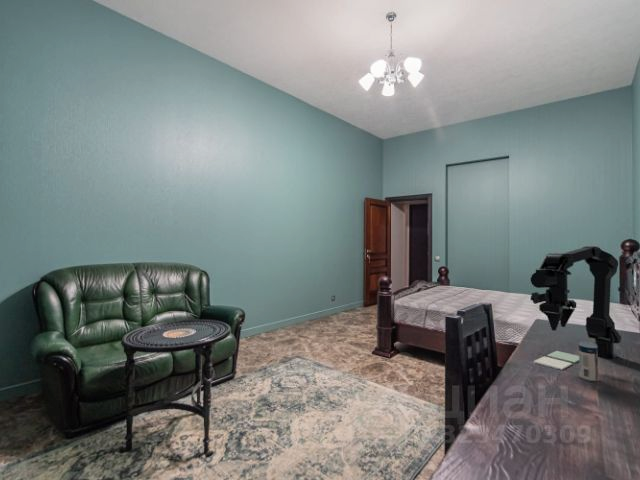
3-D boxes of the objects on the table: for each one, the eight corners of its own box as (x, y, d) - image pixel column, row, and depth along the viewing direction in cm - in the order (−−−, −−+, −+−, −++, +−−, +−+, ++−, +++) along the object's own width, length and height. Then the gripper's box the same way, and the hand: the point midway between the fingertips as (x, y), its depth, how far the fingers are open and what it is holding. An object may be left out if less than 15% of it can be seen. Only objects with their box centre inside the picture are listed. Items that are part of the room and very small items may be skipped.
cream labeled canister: (602, 382, 102) (601, 345, 102) (585, 381, 103) (584, 344, 103) (592, 376, 107) (591, 340, 107) (576, 375, 108) (575, 340, 108)
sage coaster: (556, 352, 131) (556, 350, 131) (583, 358, 123) (583, 357, 124) (547, 356, 126) (547, 355, 126) (574, 363, 119) (574, 361, 119)
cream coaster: (544, 357, 125) (544, 356, 125) (572, 364, 117) (572, 363, 117) (533, 362, 120) (533, 361, 120) (562, 370, 112) (561, 368, 112)
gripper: (543, 283, 131) (543, 321, 131) (523, 286, 120) (523, 327, 120) (576, 286, 122) (577, 326, 122) (558, 289, 111) (559, 334, 111)
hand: (558, 328), depth 119 cm, fingers open, 9 cm apart
